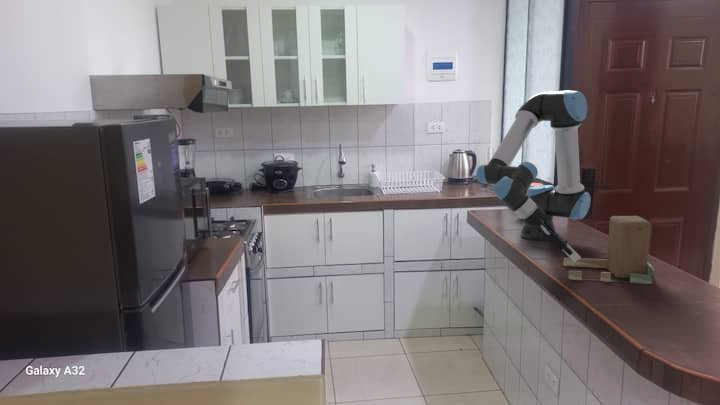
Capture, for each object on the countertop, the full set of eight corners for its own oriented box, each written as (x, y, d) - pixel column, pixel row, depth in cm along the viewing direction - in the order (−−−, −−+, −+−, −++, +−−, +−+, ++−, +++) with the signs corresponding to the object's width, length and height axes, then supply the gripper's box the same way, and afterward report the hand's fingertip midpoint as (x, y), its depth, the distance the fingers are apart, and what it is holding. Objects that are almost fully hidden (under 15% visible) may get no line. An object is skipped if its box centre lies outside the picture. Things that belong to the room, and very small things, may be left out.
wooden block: (647, 279, 165) (652, 222, 161) (616, 279, 166) (620, 222, 162) (635, 269, 175) (639, 215, 171) (605, 269, 176) (608, 215, 172)
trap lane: (563, 265, 182) (564, 252, 181) (641, 268, 175) (642, 255, 174) (568, 279, 168) (569, 265, 167) (653, 283, 160) (654, 269, 160)
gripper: (520, 215, 181) (566, 260, 180) (522, 224, 169) (572, 272, 168) (535, 201, 179) (582, 247, 178) (539, 209, 166) (589, 258, 165)
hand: (577, 259), depth 173 cm, fingers closed
